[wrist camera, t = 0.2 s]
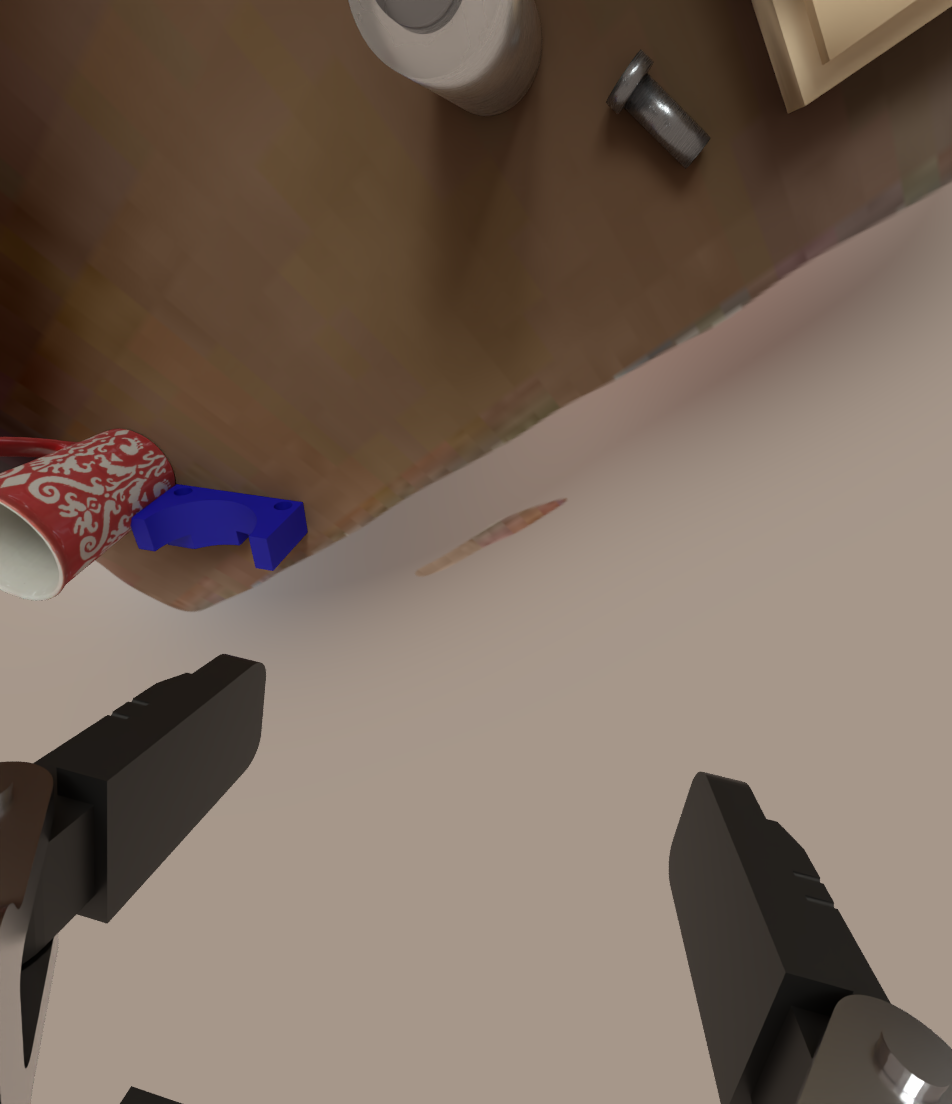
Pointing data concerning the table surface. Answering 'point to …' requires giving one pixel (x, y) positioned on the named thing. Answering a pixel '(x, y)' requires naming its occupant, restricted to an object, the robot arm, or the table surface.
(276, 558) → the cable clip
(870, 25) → the stand
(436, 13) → the silver metal bottle
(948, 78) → the table surface
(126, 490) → the mug
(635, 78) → the bolt
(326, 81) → the table surface
